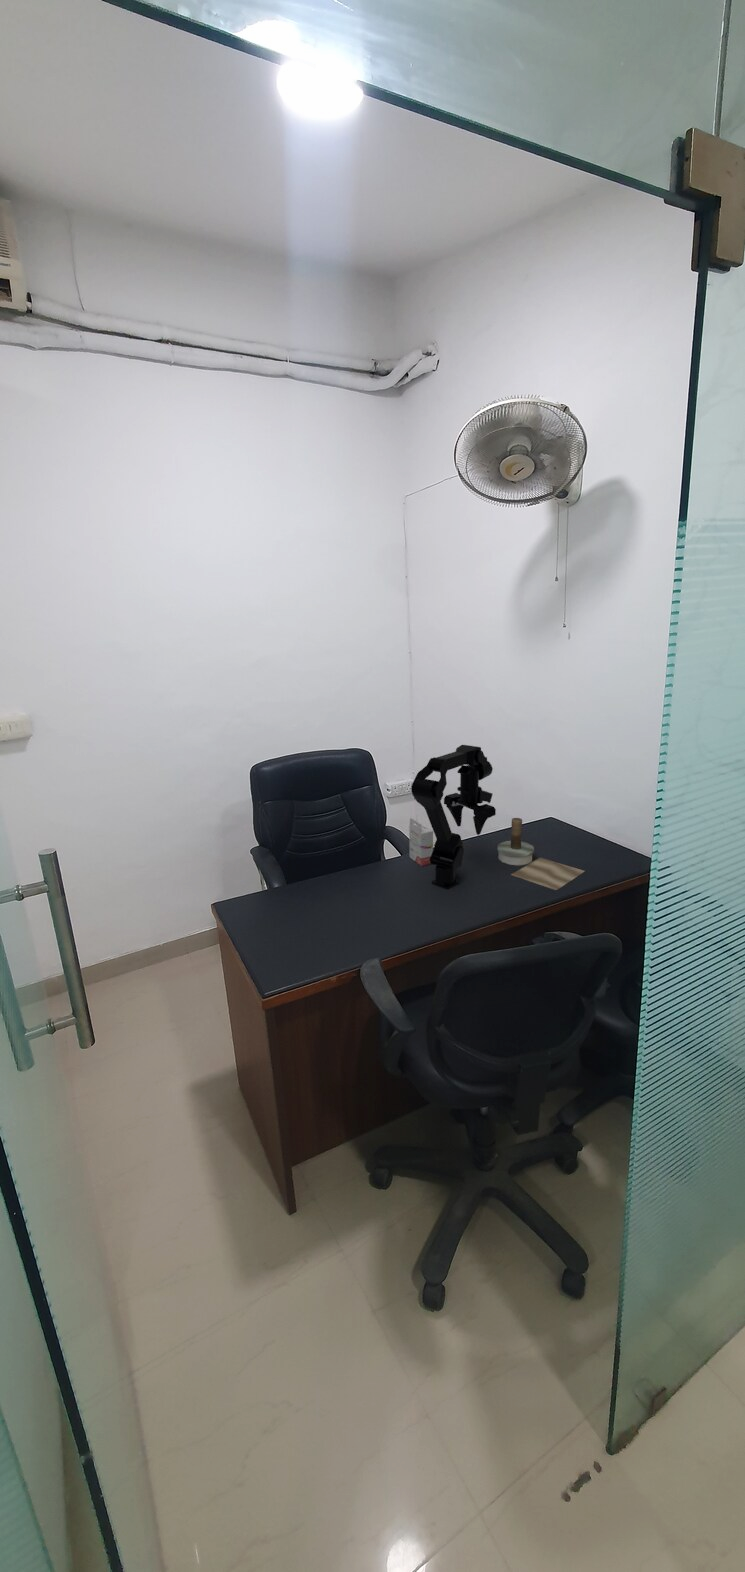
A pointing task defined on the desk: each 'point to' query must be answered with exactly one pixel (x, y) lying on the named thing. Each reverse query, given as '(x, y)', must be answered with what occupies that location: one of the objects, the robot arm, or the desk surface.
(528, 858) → the bowl
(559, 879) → the mat
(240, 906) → the desk surface
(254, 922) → the desk surface
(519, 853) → the lid
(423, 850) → the ink cartridge box
